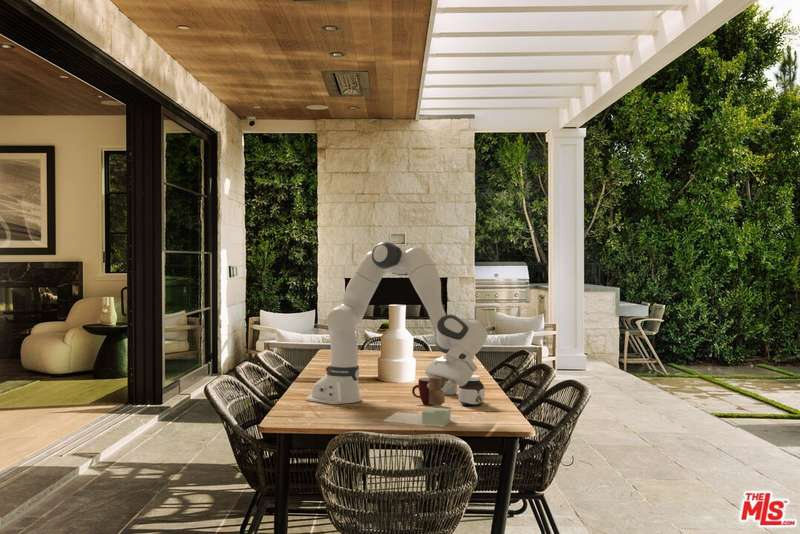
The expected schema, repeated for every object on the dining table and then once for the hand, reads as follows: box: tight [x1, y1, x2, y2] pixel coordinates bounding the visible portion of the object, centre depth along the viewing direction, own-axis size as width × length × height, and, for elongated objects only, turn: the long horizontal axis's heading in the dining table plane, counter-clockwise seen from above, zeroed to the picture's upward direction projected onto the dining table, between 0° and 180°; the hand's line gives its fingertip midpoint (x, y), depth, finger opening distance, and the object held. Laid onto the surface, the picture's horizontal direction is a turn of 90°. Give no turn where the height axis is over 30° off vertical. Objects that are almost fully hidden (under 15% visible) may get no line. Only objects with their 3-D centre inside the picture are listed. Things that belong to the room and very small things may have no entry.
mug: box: [411, 377, 434, 406], centre depth 275 cm, size 10×8×10 cm
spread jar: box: [457, 374, 486, 408], centre depth 277 cm, size 12×11×12 cm
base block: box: [421, 407, 451, 426], centre depth 240 cm, size 8×8×4 cm
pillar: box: [428, 376, 446, 406], centre depth 240 cm, size 4×4×9 cm
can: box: [445, 382, 458, 396], centre depth 296 cm, size 8×8×12 cm
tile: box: [382, 411, 454, 428], centre depth 244 cm, size 22×15×1 cm
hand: (435, 389), depth 240 cm, fingers closed on pillar, 6 cm apart
